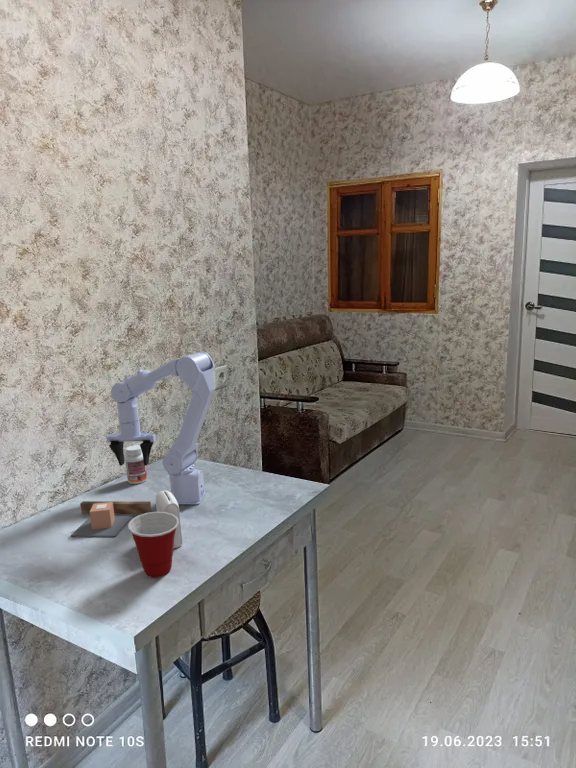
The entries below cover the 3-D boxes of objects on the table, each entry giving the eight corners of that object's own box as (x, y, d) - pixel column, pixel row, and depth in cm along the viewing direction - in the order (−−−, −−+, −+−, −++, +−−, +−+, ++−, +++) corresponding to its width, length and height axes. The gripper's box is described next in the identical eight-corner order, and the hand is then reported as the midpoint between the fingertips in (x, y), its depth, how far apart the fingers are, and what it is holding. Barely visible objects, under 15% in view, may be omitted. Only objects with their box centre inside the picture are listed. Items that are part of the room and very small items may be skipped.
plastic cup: (169, 587, 114) (163, 535, 111) (124, 581, 117) (117, 530, 114) (191, 560, 124) (187, 512, 121) (149, 555, 127) (144, 508, 124)
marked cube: (114, 518, 146) (112, 501, 145) (111, 527, 141) (109, 509, 140) (95, 520, 146) (93, 503, 145) (91, 529, 141) (89, 511, 140)
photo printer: (157, 533, 138) (152, 488, 135) (174, 529, 139) (169, 484, 137) (167, 551, 129) (162, 503, 126) (184, 546, 130) (180, 499, 128)
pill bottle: (151, 480, 174) (147, 447, 171) (133, 486, 170) (129, 452, 167) (141, 475, 178) (137, 443, 176) (124, 481, 174) (120, 448, 172)
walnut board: (151, 511, 151) (150, 501, 150) (149, 513, 149) (148, 503, 149) (84, 511, 153) (82, 501, 153) (81, 513, 152) (80, 503, 151)
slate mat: (133, 515, 149) (133, 514, 148) (115, 537, 137) (115, 535, 137) (92, 515, 150) (92, 514, 150) (70, 536, 138) (70, 535, 138)
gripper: (157, 416, 162) (162, 459, 165) (111, 417, 164) (116, 459, 167) (148, 423, 155) (153, 467, 158) (101, 424, 157) (106, 468, 160)
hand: (134, 464), depth 162 cm, fingers open, 7 cm apart
